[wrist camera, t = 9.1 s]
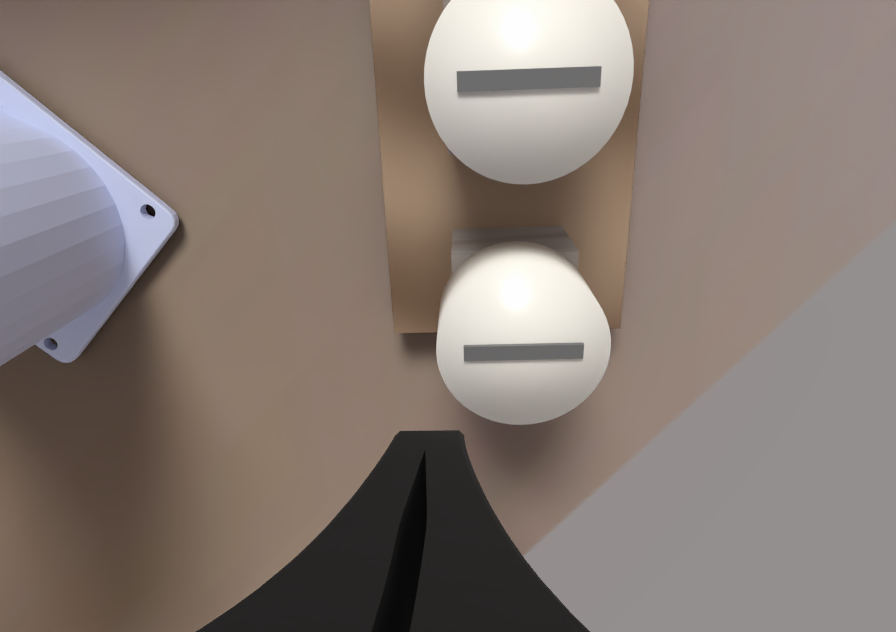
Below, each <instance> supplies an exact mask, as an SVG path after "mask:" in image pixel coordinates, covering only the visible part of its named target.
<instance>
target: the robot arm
mask: <svg viewBox="0 0 896 632" xmlns="http://www.w3.org/2000/svg"><path fill="white" fill-rule="evenodd" d="M147 204H148V205H150V206H152V207H153V208H154V209H155V213H156V214H155V217H153V216H151V215H149V214H148V213H147V211H146V206H147ZM178 225H179V218H178V216H177V214H176V212H175V211H174V210H173V209H172V208H170V207H169V206H168V205H167V204H165V203H164V202H163V201H162V200H161V199H159V198H158V197H157V196H156V195H154V194H153V193H152V192H151V191H149V190H148V189H147V188H146V187H144V186H143V185H142V184H141V183H139V182H138V181H137V180H136V179H134V178H133V177H132V176H131V175H129V174H128V173H127V172H126V171H125V170H123V169H122V168H121V167H120V166H118V165H117V164H116V163H115V162H113V161H112V160H111V159H110V158H108V157H107V156H106V155H105V154H103V153H102V152H101V151H100V150H98V149H97V148H96V147H95V146H93V145H92V144H91V143H90V142H89V141H87V140H86V139H85V138H84V137H82V136H81V135H80V134H79V133H77V132H76V131H75V130H74V129H72V128H71V127H70V126H69V125H67V124H66V123H65V122H64V121H62V120H61V119H60V118H59V117H57V116H56V115H55V114H54V113H52V112H51V111H50V110H49V109H48V108H46V107H45V106H44V105H43V104H41V103H40V102H39V101H38V100H36V99H35V98H34V97H33V96H31V95H30V94H29V93H28V92H26V91H25V90H24V89H23V88H21V87H20V86H19V85H18V84H16V83H15V82H14V81H13V80H12V79H10V78H9V77H8V76H7V75H5V74H4V73H3V72H2V71H0V366H1V365H3V364H5V363H6V362H8V361H9V360H11V359H12V358H14V357H16V356H17V355H19V354H20V353H22V352H24V351H25V350H27V349H28V348H30V347H32V346H33V345H36V346H37V347H39V348H40V349H42V350H43V351H45V352H46V353H48V354H49V355H50V356H52V357H53V358H55V359H56V360H58V361H60V362H63V363H70V362H72V361H74V360H75V359H76V358H78V357H79V356H80V355H81V353H82V352H83V351H84V349H85V348H86V347H87V345H88V344H89V343H90V342H91V340H92V339H93V338H94V336H95V335H96V334H97V332H98V331H99V330H100V328H101V327H102V326H103V325H104V323H105V322H106V321H107V319H108V318H109V317H110V315H111V314H112V313H113V312H114V310H115V309H116V308H117V306H118V305H119V304H120V302H121V301H122V300H123V298H124V297H125V296H126V295H127V293H128V292H129V291H130V289H131V288H132V287H133V285H134V284H135V283H136V281H137V280H138V279H139V278H140V276H141V275H142V274H143V272H144V271H145V270H146V268H147V267H148V266H149V265H150V263H151V262H152V261H153V259H154V258H155V257H156V255H157V254H158V253H159V251H160V250H161V249H162V248H163V246H164V245H165V244H166V242H167V241H168V240H169V238H170V237H171V236H172V234H173V233H174V232H175V231H176V229H177V227H178ZM50 338H52V339H54V340H55V341H56V342H57V345H58V346H57V345H55V344H53V343H52V342H51V339H50ZM196 632H590V631H589V630H588V629H587V628H586V627H585V626H584V625H583V624H582V623H580V621H579V620H578V619H576V618H575V617H574V616H573V615H572V614H571V613H570V612H569V610H568V609H567V608H566V607H565V606H564V605H563V604H562V603H561V601H560V600H559V599H558V598H557V597H556V596H555V595H554V594H553V593H552V591H551V590H550V589H549V588H548V587H547V586H546V585H545V584H544V583H543V582H542V580H541V579H540V578H539V577H538V575H537V574H536V573H535V572H534V571H533V569H532V568H531V566H530V565H529V564H528V563H527V561H526V560H525V559H524V557H523V556H522V555H521V553H520V552H519V550H518V549H517V548H516V546H515V545H514V543H513V542H512V540H511V539H510V537H509V536H508V534H507V533H506V531H505V530H504V528H503V526H502V525H501V523H500V521H499V520H498V518H497V516H496V515H495V513H494V511H493V509H492V508H491V506H490V504H489V502H488V500H487V498H486V496H485V494H484V492H483V490H482V488H481V486H480V484H479V482H478V480H477V477H476V475H475V473H474V470H473V468H472V465H471V462H470V460H469V457H468V454H467V450H466V446H465V441H464V435H463V434H462V433H461V432H460V431H459V430H458V431H400V432H399V433H398V434H397V435H396V436H395V437H394V439H393V440H392V442H391V444H390V445H389V447H388V449H387V450H386V452H385V453H384V455H383V456H382V458H381V459H380V461H379V462H378V464H377V465H376V466H375V468H374V469H373V471H372V472H371V473H370V475H369V476H368V477H367V479H366V480H365V481H364V483H363V484H362V485H361V487H360V488H359V489H358V491H357V492H356V493H355V494H354V496H353V497H352V498H351V499H350V500H349V502H348V503H347V504H346V505H345V506H344V507H343V509H342V510H341V511H340V512H339V513H338V514H337V516H336V517H335V518H334V519H333V520H332V521H331V522H330V523H329V525H328V526H327V527H326V528H325V529H324V530H323V531H322V532H321V533H320V534H319V535H318V536H317V537H316V538H315V539H314V540H313V541H312V542H311V543H310V544H309V545H308V546H307V547H306V548H305V549H304V550H303V551H302V552H301V553H300V554H299V555H298V556H296V557H295V558H294V559H293V560H292V561H291V562H290V563H288V564H287V565H286V566H285V567H284V568H283V569H282V570H280V571H279V572H278V573H277V574H276V575H274V576H273V577H272V578H271V579H270V580H268V581H267V582H266V583H265V584H263V585H262V586H261V587H260V588H259V589H257V590H256V591H255V592H253V593H252V594H251V595H249V596H248V597H246V598H245V599H244V600H242V601H241V602H240V603H238V604H237V605H235V606H234V607H233V608H231V609H230V610H228V611H227V612H225V613H224V614H222V615H221V616H219V617H218V618H216V619H215V620H213V621H212V622H210V623H209V624H207V625H206V626H204V627H203V628H201V629H200V630H198V631H196Z"/></svg>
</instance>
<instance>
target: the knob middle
mask: <svg viewBox="0 0 896 632" xmlns="http://www.w3.org/2000/svg"><path fill="white" fill-rule="evenodd" d="M633 72H634V58H633V48H632V42H631V38H630V34H629V30H628V27H627V25H626V22H625V19H624V17H623V15H622V13H621V11H620V9H619V8H618V6H617V4H616V3H615V1H614V0H451V1H450V2H449V3H448V5H447V6H446V8H445V9H444V10H443V12H442V14H441V16H440V17H439V19H438V21H437V23H436V25H435V27H434V30H433V32H432V35H431V37H430V41H429V44H428V48H427V52H426V58H425V66H424V88H425V97H426V102H427V106H428V110H429V113H430V116H431V119H432V121H433V124H434V126H435V128H436V130H437V132H438V134H439V136H440V137H441V139H442V140H443V142H444V143H445V145H446V146H447V147H448V149H449V150H450V151H451V152H452V153H453V154H454V155H455V156H456V157H457V158H458V159H459V160H460V161H461V162H463V163H464V164H465V165H466V166H468V167H469V168H471V169H472V170H474V171H475V172H477V173H479V174H481V175H483V176H485V177H487V178H490V179H493V180H496V181H500V182H504V183H510V184H537V183H542V182H547V181H551V180H554V179H557V178H559V177H562V176H565V175H567V174H569V173H570V172H572V171H574V170H576V169H578V168H579V167H581V166H582V165H583V164H585V163H586V162H588V161H589V160H590V159H591V158H592V157H593V156H595V155H596V154H597V153H598V152H599V151H600V150H601V148H602V147H603V146H604V145H605V144H606V143H607V142H608V140H609V139H610V137H611V136H612V134H613V133H614V132H615V130H616V128H617V126H618V125H619V123H620V121H621V119H622V117H623V114H624V112H625V109H626V107H627V104H628V101H629V97H630V93H631V89H632V82H633Z"/></svg>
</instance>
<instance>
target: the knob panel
mask: <svg viewBox="0 0 896 632" xmlns="http://www.w3.org/2000/svg"><path fill="white" fill-rule="evenodd" d="M450 1H451V0H369V4H370V17H371V30H372V44H373V57H374V70H375V84H376V97H377V110H378V124H379V137H380V150H381V164H382V177H383V190H384V204H385V217H386V230H387V244H388V257H389V270H390V284H391V297H392V310H393V324H394V333H430V332H437V331H438V320H439V309H440V302H441V297H442V294H443V291H444V288H445V286H446V284H447V282H448V280H449V279H450V277H451V276H452V274H453V273H454V271H455V270H456V269H457V268H458V267H459V266H460V265H461V264H462V263H463V262H464V261H465V260H466V259H467V258H469V257H470V256H472V255H473V254H475V253H476V252H478V251H480V250H482V249H484V248H486V247H489V246H492V245H495V244H499V243H504V242H513V241H524V242H532V243H537V244H540V245H544V246H547V247H549V248H551V249H553V250H555V251H557V252H558V253H560V254H562V255H563V256H565V257H566V258H567V259H568V260H569V261H570V262H572V264H573V265H574V266H575V267H576V268H577V269H578V271H579V272H580V274H581V275H582V277H583V278H584V280H585V282H586V283H587V285H588V287H589V288H590V290H591V292H592V293H593V295H594V297H595V298H596V300H597V301H598V303H599V305H600V306H601V308H602V310H603V312H604V314H605V316H606V319H607V322H608V325H609V329H615V328H620V324H621V312H622V301H623V290H624V278H625V267H626V256H627V245H628V233H629V222H630V211H631V199H632V188H633V177H634V165H635V154H636V143H637V132H638V120H639V109H640V98H641V86H642V75H643V64H644V53H645V41H646V30H647V19H648V7H649V0H614V1H615V3H616V4H617V6H618V8H619V9H620V11H621V13H622V15H623V17H624V19H625V22H626V25H627V27H628V30H629V34H630V38H631V42H632V48H633V58H634V72H633V82H632V89H631V93H630V97H629V101H628V104H627V107H626V109H625V112H624V114H623V117H622V119H621V121H620V123H619V125H618V126H617V128H616V130H615V132H614V133H613V134H612V136H611V137H610V139H609V140H608V142H607V143H606V144H605V145H604V146H603V147H602V148H601V150H600V151H599V152H598V153H597V154H596V155H595V156H593V157H592V158H591V159H590V160H589V161H588V162H586V163H585V164H583V165H582V166H581V167H579V168H578V169H576V170H574V171H572V172H570V173H569V174H567V175H565V176H562V177H559V178H557V179H554V180H551V181H547V182H542V183H537V184H510V183H504V182H500V181H496V180H493V179H490V178H487V177H485V176H483V175H481V174H479V173H477V172H475V171H474V170H472V169H471V168H469V167H468V166H466V165H465V164H464V163H463V162H461V161H460V160H459V159H458V158H457V157H456V156H455V155H454V154H453V153H452V152H451V151H450V150H449V149H448V147H447V146H446V145H445V143H444V142H443V140H442V139H441V137H440V136H439V134H438V132H437V130H436V128H435V126H434V124H433V121H432V119H431V116H430V113H429V110H428V106H427V102H426V97H425V88H424V66H425V58H426V52H427V48H428V44H429V41H430V37H431V35H432V32H433V30H434V27H435V25H436V23H437V21H438V19H439V17H440V16H441V14H442V12H443V10H444V9H445V8H446V6H447V5H448V3H449V2H450Z"/></svg>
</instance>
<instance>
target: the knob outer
mask: <svg viewBox="0 0 896 632" xmlns="http://www.w3.org/2000/svg"><path fill="white" fill-rule="evenodd" d="M610 350H611V336H610V329H609V325H608V322H607V319H606V316H605V314H604V312H603V310H602V308H601V306H600V305H599V303H598V301H597V300H596V298H595V297H594V295H593V293H592V292H591V290H590V288H589V287H588V285H587V283H586V282H585V280H584V278H583V277H582V275H581V274H580V272H579V271H578V269H577V268H576V267H575V266H574V265H573V264H572V262H570V261H569V260H568V259H567V258H566V257H565V256H563V255H562V254H560V253H558V252H557V251H555V250H553V249H551V248H549V247H547V246H544V245H540V244H537V243H532V242H524V241H513V242H504V243H499V244H495V245H492V246H489V247H486V248H484V249H482V250H480V251H478V252H476V253H475V254H473V255H472V256H470V257H469V258H467V259H466V260H465V261H464V262H463V263H462V264H461V265H460V266H459V267H458V268H457V269H456V270H455V271H454V273H453V274H452V276H451V277H450V279H449V280H448V282H447V284H446V286H445V288H444V291H443V294H442V297H441V302H440V309H439V320H438V331H437V342H436V355H437V363H438V367H439V371H440V374H441V376H442V378H443V381H444V383H445V384H446V386H447V388H448V389H449V391H450V392H451V393H452V394H453V396H454V397H455V398H456V399H457V400H458V401H459V402H460V403H461V404H462V405H463V406H465V407H466V408H468V409H469V410H470V411H472V412H474V413H476V414H477V415H479V416H481V417H484V418H486V419H489V420H492V421H495V422H499V423H504V424H511V425H527V424H536V423H541V422H545V421H549V420H552V419H555V418H557V417H559V416H562V415H564V414H566V413H567V412H569V411H571V410H573V409H574V408H575V407H577V406H578V405H579V404H581V403H582V402H583V401H584V400H585V399H586V398H587V397H588V396H589V395H590V394H591V393H592V392H593V391H594V389H595V388H596V387H597V385H598V384H599V382H600V381H601V379H602V377H603V375H604V373H605V370H606V368H607V365H608V361H609V357H610Z"/></svg>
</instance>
